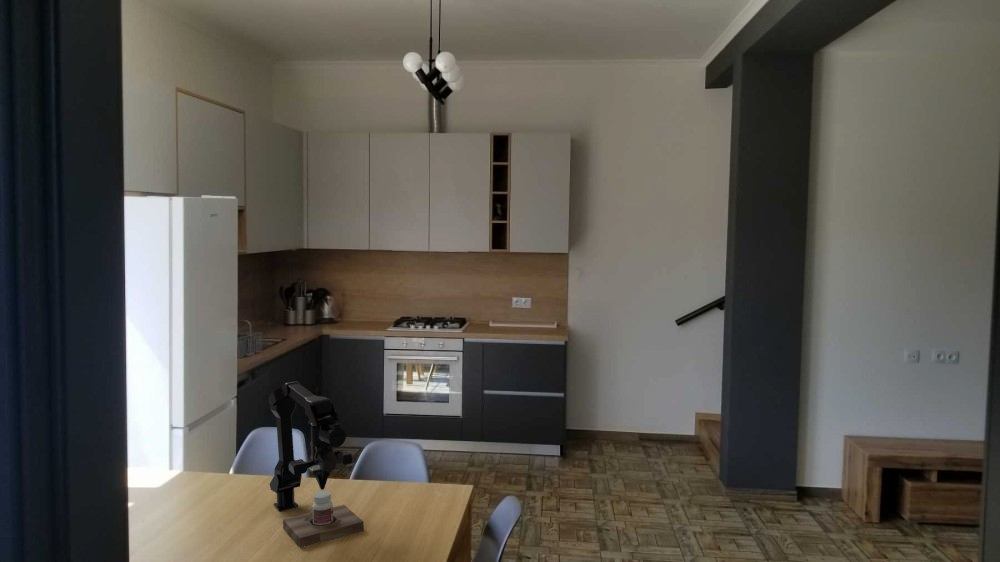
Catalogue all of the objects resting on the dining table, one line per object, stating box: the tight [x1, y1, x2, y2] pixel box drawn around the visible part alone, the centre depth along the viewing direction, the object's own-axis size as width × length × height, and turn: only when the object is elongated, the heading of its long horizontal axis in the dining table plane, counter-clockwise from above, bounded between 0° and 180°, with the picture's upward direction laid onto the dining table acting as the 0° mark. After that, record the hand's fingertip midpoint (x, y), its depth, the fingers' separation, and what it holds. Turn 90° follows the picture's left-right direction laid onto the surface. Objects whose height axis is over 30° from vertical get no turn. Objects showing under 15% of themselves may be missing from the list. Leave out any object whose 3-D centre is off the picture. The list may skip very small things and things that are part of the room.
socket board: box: [282, 504, 365, 549], centre depth 214 cm, size 16×20×3 cm
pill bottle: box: [311, 490, 334, 526], centre depth 213 cm, size 6×6×11 cm
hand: (322, 489), depth 213 cm, fingers closed
